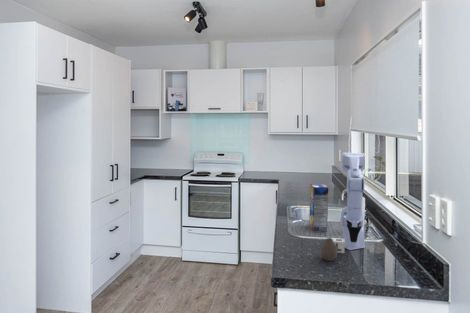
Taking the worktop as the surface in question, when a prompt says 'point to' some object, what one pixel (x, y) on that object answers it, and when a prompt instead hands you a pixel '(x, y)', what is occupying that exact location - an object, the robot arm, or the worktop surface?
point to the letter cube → (339, 244)
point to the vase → (328, 250)
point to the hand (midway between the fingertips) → (353, 239)
